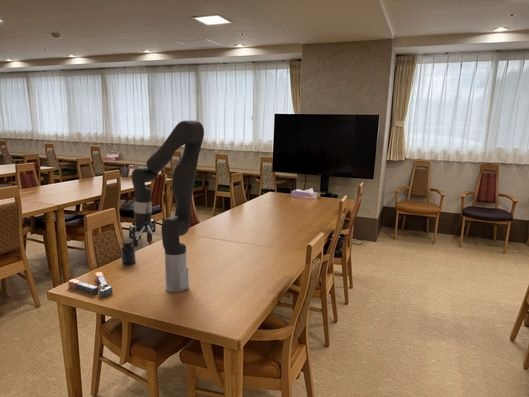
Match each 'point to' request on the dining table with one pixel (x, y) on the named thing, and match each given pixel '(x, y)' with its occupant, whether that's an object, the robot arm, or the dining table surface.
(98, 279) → the tong arm
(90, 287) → the tongs fixed
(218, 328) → the dining table surface
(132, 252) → the supplement bottle
